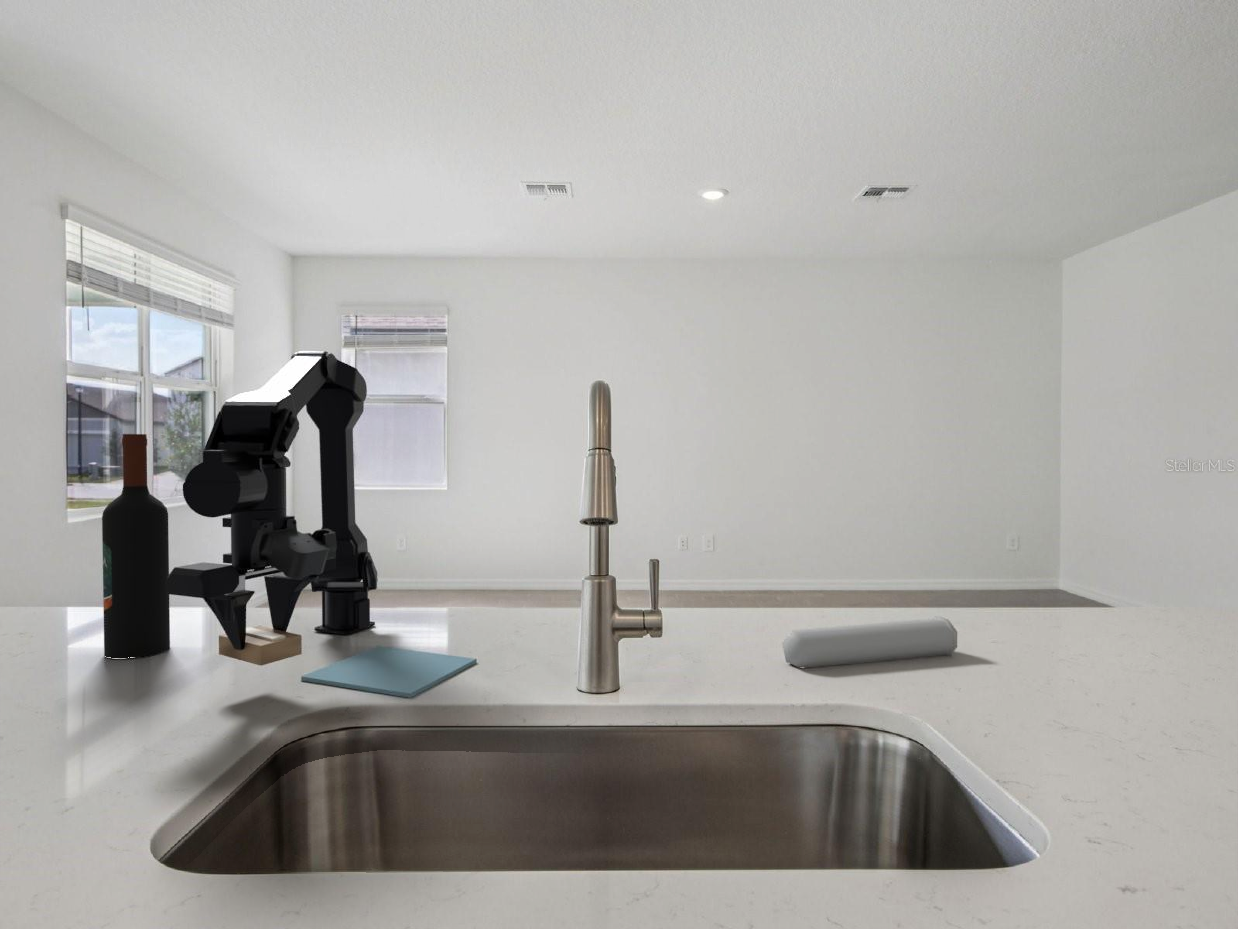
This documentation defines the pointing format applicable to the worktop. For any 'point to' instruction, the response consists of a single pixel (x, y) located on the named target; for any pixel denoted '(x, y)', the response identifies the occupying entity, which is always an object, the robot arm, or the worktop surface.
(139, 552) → the wine bottle
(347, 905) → the worktop surface
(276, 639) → the brown cardboard box
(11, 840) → the worktop surface
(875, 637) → the tube
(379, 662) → the mat
